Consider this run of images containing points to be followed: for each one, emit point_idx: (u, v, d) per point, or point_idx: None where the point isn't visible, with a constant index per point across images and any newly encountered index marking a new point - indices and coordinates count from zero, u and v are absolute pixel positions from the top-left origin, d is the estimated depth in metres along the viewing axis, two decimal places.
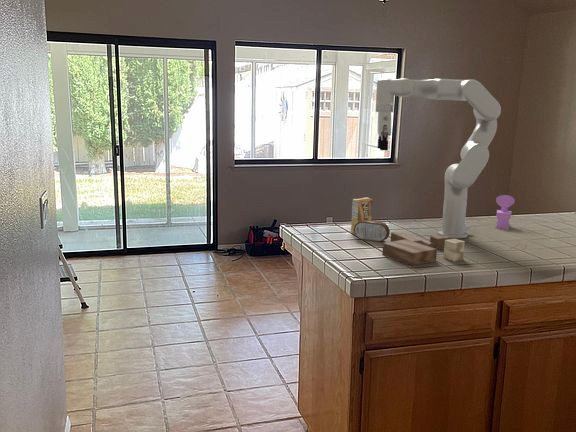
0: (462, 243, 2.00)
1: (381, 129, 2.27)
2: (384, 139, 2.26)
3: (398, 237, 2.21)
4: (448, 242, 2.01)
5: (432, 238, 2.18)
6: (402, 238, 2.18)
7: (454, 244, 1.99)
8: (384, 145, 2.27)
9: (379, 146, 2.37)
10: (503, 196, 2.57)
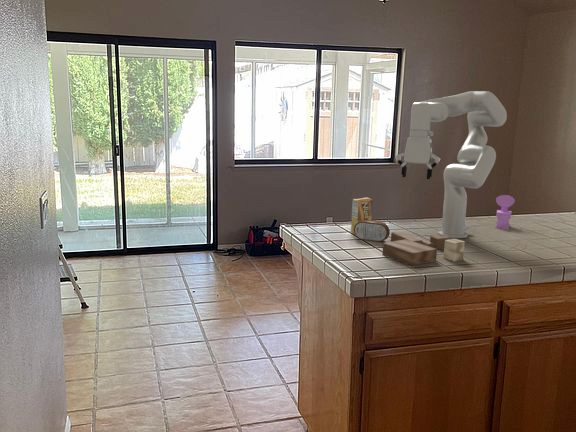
0: (462, 243, 2.00)
1: (429, 157, 2.11)
2: (433, 167, 2.12)
3: (398, 237, 2.22)
4: (448, 242, 2.01)
5: (432, 238, 2.18)
6: (402, 238, 2.18)
7: (454, 244, 1.99)
8: (431, 173, 2.13)
9: (404, 175, 2.17)
10: (503, 196, 2.57)
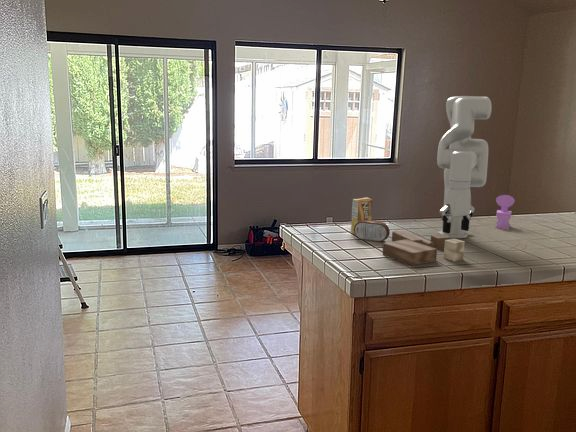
0: (462, 243, 2.00)
1: None
2: None
3: (399, 236, 2.22)
4: (448, 242, 2.01)
5: (433, 238, 2.19)
6: (402, 237, 2.19)
7: (454, 244, 1.99)
8: None
9: None
10: (503, 196, 2.57)
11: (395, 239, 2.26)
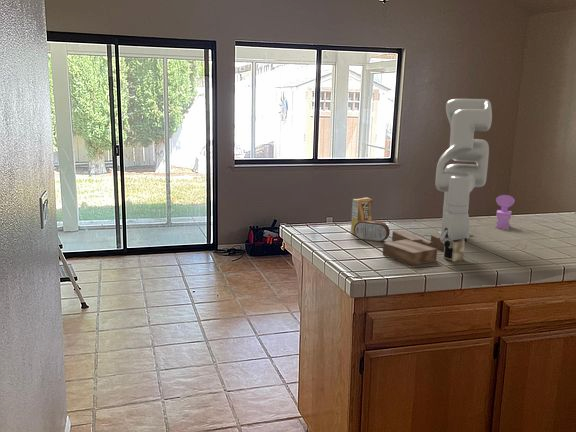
0: (462, 243, 2.00)
1: None
2: None
3: (399, 236, 2.23)
4: (448, 242, 2.01)
5: (433, 237, 2.19)
6: (402, 237, 2.20)
7: (454, 244, 1.99)
8: None
9: None
10: (503, 196, 2.57)
11: (395, 239, 2.26)
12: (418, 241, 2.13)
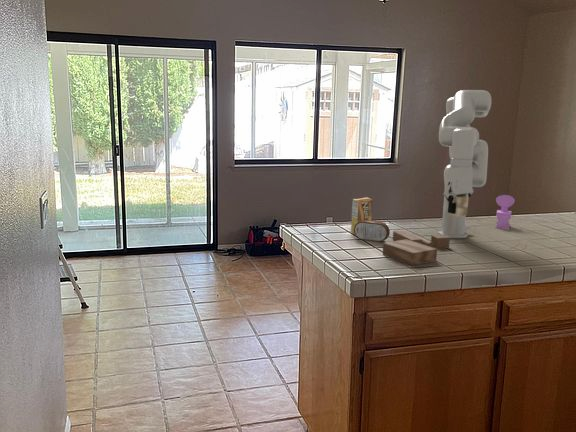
0: (466, 198, 1.97)
1: None
2: None
3: (399, 236, 2.23)
4: (452, 197, 1.98)
5: (433, 237, 2.19)
6: (403, 237, 2.20)
7: (458, 199, 1.96)
8: None
9: None
10: (503, 196, 2.57)
11: (396, 239, 2.27)
12: (418, 241, 2.14)
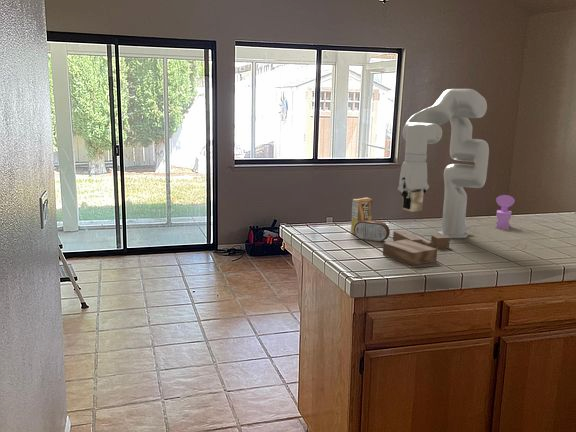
0: (421, 193, 1.97)
1: None
2: None
3: (399, 236, 2.24)
4: (406, 192, 1.98)
5: (433, 237, 2.20)
6: (403, 237, 2.20)
7: (412, 194, 1.95)
8: None
9: None
10: (503, 196, 2.57)
11: (396, 239, 2.27)
12: (418, 241, 2.14)
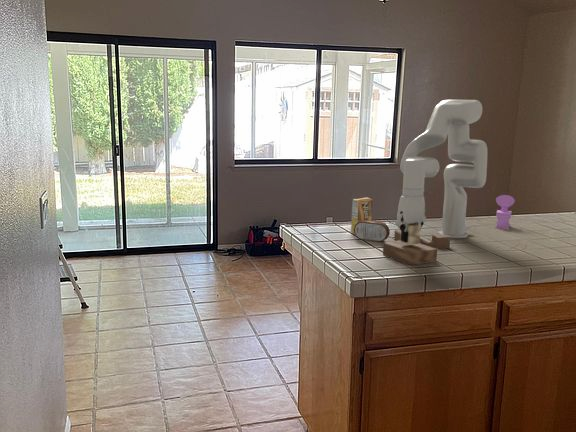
0: (418, 226, 2.00)
1: None
2: None
3: (400, 235, 2.25)
4: (404, 226, 2.00)
5: (433, 237, 2.20)
6: None
7: (410, 227, 1.98)
8: None
9: None
10: (503, 196, 2.57)
11: (397, 238, 2.28)
12: None
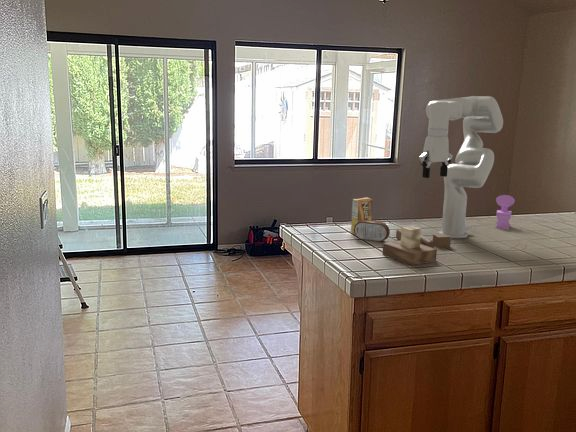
0: (418, 230, 2.00)
1: None
2: None
3: None
4: (404, 229, 2.01)
5: (434, 236, 2.21)
6: None
7: (410, 231, 1.98)
8: None
9: None
10: (503, 196, 2.57)
11: (398, 237, 2.29)
12: None
